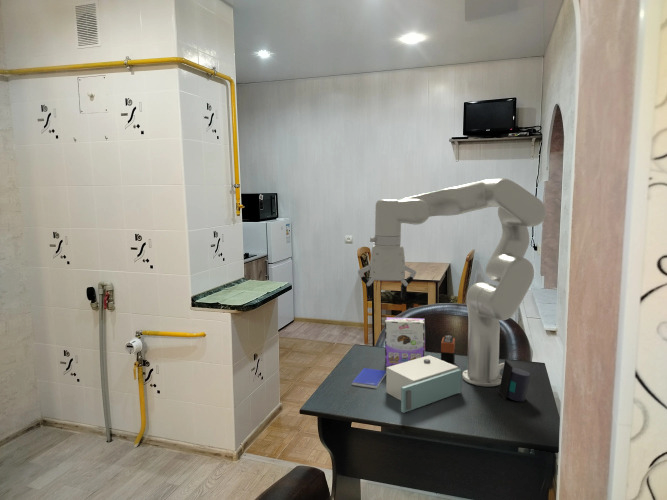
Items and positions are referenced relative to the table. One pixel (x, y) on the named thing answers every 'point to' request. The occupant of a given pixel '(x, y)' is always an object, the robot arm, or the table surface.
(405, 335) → the candy box
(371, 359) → the table surface
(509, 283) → the robot arm
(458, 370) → the side door
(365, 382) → the hard drive
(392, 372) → the white knobbed box
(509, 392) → the speaker
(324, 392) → the table surface
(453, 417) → the table surface
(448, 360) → the battery
